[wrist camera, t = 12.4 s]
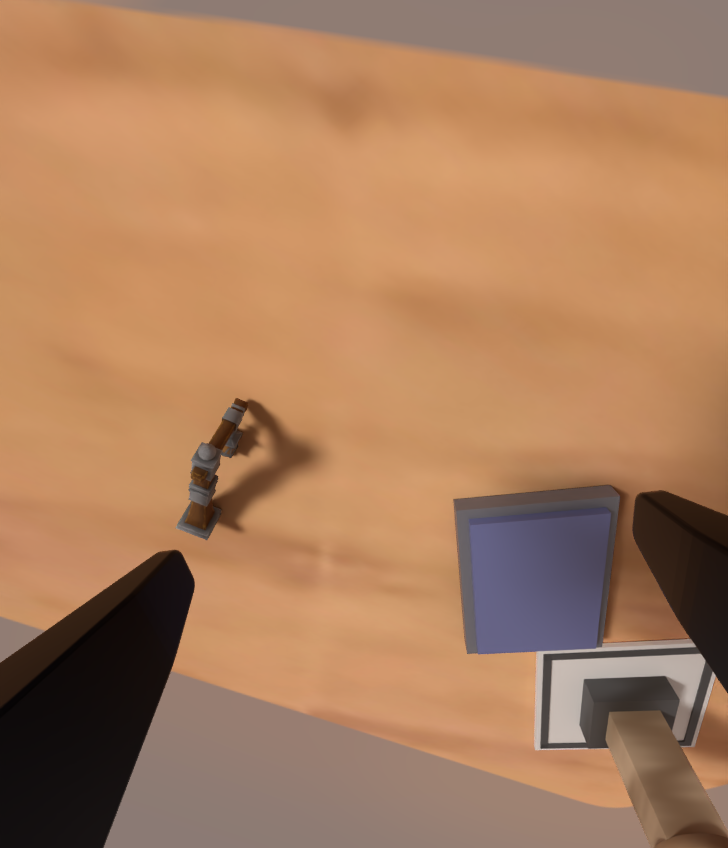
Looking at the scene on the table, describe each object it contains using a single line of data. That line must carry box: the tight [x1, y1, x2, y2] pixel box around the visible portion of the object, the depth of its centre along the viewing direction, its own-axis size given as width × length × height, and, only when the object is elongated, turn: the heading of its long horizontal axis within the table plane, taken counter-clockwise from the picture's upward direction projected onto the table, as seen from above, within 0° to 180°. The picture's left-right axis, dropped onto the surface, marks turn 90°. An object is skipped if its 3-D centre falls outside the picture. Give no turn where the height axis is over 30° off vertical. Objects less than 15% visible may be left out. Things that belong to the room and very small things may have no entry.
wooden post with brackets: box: [176, 398, 248, 540], centre depth 21 cm, size 2×8×4 cm, turn 155°
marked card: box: [534, 639, 716, 750], centre depth 28 cm, size 11×11×1 cm
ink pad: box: [453, 485, 620, 654], centre depth 23 cm, size 8×11×2 cm
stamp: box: [579, 676, 728, 848], centre depth 24 cm, size 5×5×9 cm
